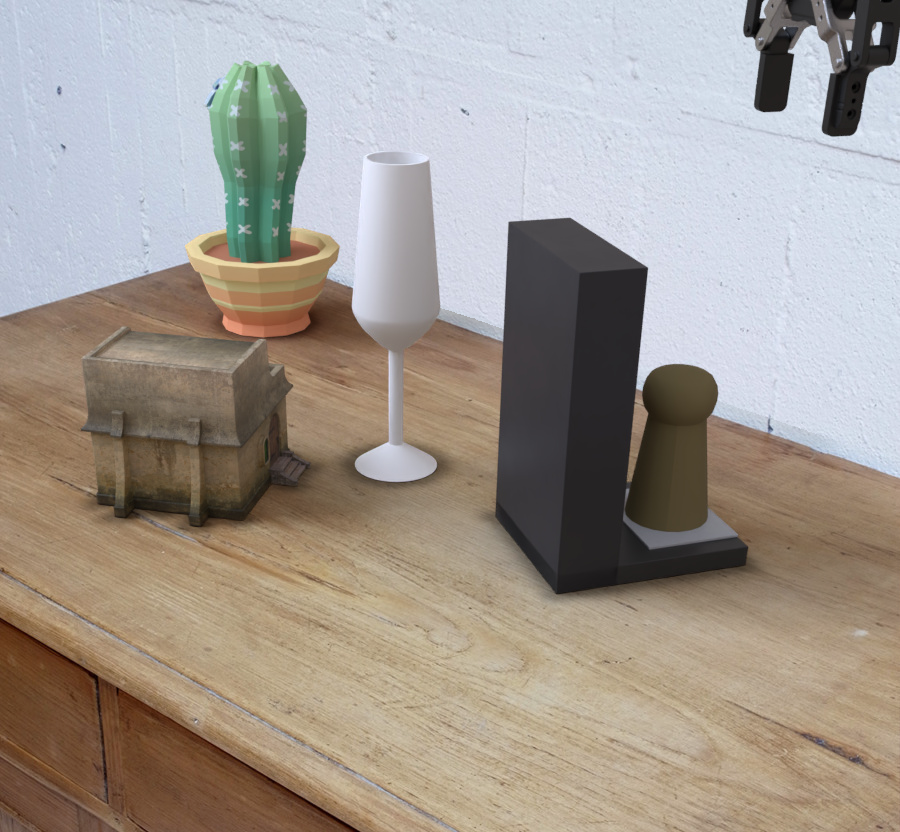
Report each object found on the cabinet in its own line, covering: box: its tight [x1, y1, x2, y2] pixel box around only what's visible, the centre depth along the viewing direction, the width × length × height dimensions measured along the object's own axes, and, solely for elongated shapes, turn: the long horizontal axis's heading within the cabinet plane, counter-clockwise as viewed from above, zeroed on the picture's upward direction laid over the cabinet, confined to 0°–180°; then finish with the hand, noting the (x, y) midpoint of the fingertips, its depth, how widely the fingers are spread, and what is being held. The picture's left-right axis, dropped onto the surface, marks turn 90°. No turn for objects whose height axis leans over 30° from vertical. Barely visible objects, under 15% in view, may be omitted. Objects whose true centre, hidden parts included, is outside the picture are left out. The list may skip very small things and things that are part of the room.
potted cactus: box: [184, 60, 341, 338], centre depth 129 cm, size 15×15×25 cm
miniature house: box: [80, 325, 312, 528], centre depth 100 cm, size 15×14×11 cm
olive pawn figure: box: [624, 363, 719, 532], centre depth 93 cm, size 6×6×11 cm
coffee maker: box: [494, 217, 749, 595], centre depth 90 cm, size 14×12×22 cm
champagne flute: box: [351, 150, 441, 483], centre depth 100 cm, size 7×7×24 cm
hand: (802, 122), depth 87 cm, fingers open, 8 cm apart
